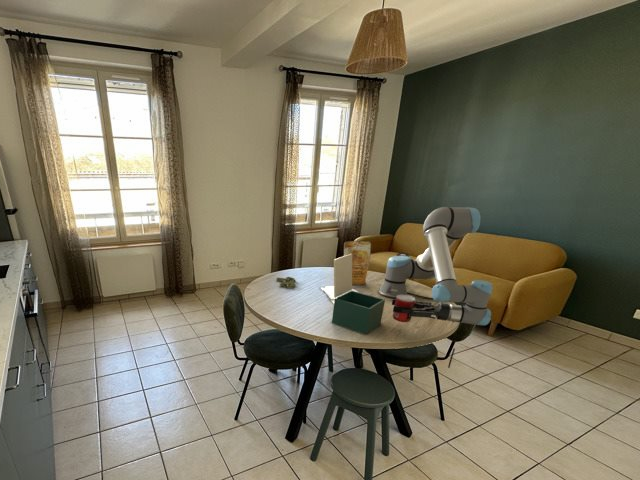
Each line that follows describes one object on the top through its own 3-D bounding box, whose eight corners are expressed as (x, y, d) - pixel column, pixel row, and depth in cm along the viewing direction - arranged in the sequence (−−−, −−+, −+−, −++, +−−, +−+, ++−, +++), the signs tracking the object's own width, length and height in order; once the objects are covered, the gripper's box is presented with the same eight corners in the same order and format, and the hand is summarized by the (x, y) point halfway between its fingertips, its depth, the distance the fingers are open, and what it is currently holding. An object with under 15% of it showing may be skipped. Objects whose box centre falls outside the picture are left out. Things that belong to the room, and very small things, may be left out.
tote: (380, 323, 162) (385, 299, 157) (365, 334, 151) (370, 309, 146) (347, 313, 173) (351, 290, 169) (331, 322, 162) (334, 298, 158)
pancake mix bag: (337, 281, 223) (342, 240, 212) (364, 281, 224) (371, 240, 213) (340, 284, 216) (346, 242, 206) (368, 284, 217) (375, 242, 207)
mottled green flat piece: (275, 279, 225) (276, 276, 225) (293, 279, 226) (293, 276, 225) (280, 288, 209) (280, 285, 208) (298, 288, 209) (298, 285, 208)
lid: (352, 253, 163) (350, 253, 164) (335, 259, 152) (333, 259, 153) (352, 289, 168) (350, 289, 169) (335, 297, 157) (334, 297, 158)
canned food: (409, 324, 150) (414, 301, 146) (391, 319, 154) (395, 298, 150) (411, 318, 156) (416, 296, 152) (393, 314, 160) (397, 293, 156)
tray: (350, 287, 212) (351, 281, 210) (369, 305, 186) (370, 299, 185) (319, 287, 211) (320, 282, 209) (333, 306, 185) (334, 300, 183)
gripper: (450, 329, 139) (392, 321, 146) (441, 311, 157) (390, 304, 164) (455, 313, 136) (395, 306, 143) (445, 296, 154) (392, 290, 161)
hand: (392, 305), depth 154 cm, fingers closed on canned food, 8 cm apart
